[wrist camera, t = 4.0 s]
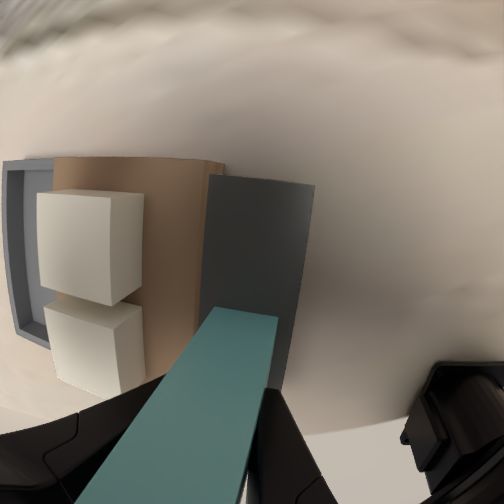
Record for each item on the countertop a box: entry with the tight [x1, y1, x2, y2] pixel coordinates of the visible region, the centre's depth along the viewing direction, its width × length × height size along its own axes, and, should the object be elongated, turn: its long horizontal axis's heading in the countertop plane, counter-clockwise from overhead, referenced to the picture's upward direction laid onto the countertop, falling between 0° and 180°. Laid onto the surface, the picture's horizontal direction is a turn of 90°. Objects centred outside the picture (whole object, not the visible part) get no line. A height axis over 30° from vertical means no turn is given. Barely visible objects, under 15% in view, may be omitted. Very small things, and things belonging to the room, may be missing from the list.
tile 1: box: [37, 189, 144, 306], centre depth 12 cm, size 4×4×2 cm
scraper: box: [74, 174, 315, 504], centre depth 7 cm, size 3×11×10 cm, turn 174°
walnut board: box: [53, 157, 224, 386], centre depth 15 cm, size 8×12×3 cm, turn 174°
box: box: [2, 158, 57, 350], centre depth 16 cm, size 6×12×2 cm, turn 174°
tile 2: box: [44, 294, 146, 400], centre depth 13 cm, size 4×4×2 cm
